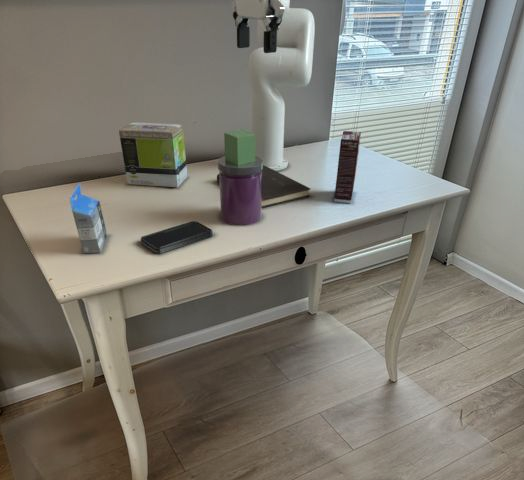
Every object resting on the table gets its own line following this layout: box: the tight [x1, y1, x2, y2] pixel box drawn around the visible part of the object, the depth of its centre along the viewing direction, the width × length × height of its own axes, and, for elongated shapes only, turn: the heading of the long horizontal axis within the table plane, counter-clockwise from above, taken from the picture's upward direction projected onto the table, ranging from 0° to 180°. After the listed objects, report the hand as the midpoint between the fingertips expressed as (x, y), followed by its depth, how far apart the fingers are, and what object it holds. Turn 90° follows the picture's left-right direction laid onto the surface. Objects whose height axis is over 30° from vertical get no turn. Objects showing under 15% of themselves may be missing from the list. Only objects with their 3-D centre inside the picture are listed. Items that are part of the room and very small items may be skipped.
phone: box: [140, 220, 213, 254], centre depth 112 cm, size 8×1×15 cm
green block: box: [223, 129, 255, 166], centre depth 112 cm, size 5×5×6 cm
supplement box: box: [333, 130, 362, 204], centre depth 129 cm, size 9×5×16 cm, turn 168°
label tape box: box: [69, 182, 108, 254], centre depth 106 cm, size 9×4×12 cm, turn 5°
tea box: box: [118, 121, 188, 188], centre depth 137 cm, size 15×10×15 cm, turn 80°
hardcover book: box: [216, 165, 311, 209], centre depth 137 cm, size 16×23×2 cm
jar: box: [217, 155, 263, 226], centre depth 118 cm, size 10×10×14 cm
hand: (256, 50), depth 111 cm, fingers open, 9 cm apart
